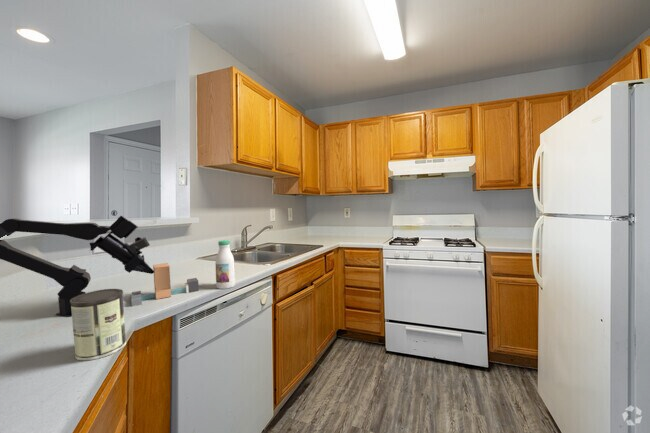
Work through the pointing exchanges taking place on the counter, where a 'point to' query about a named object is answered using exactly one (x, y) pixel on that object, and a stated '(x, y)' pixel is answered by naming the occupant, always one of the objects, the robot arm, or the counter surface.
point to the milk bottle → (225, 266)
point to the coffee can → (98, 323)
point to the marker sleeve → (162, 280)
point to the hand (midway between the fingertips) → (153, 272)
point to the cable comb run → (189, 287)
